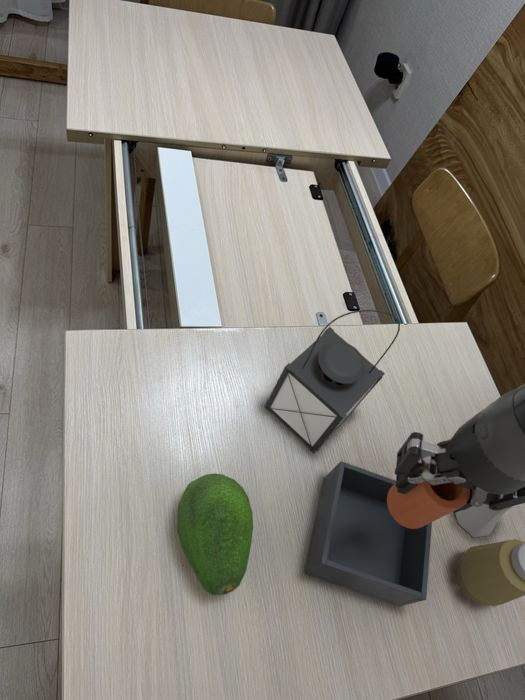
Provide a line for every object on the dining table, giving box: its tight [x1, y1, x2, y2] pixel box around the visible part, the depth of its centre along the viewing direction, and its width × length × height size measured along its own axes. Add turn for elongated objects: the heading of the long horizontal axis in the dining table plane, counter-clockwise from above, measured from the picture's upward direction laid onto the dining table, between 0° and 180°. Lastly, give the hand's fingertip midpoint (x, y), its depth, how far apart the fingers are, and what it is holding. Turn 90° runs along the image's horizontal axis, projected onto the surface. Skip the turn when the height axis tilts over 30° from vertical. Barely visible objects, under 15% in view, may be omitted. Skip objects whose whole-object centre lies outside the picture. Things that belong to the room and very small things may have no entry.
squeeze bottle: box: [454, 538, 525, 607], centre depth 68 cm, size 8×8×18 cm
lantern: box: [264, 309, 401, 454], centre depth 74 cm, size 11×11×28 cm
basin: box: [303, 460, 433, 607], centre depth 72 cm, size 14×14×8 cm
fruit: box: [176, 473, 254, 596], centre depth 66 cm, size 15×10×10 cm, turn 6°
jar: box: [387, 467, 470, 529], centre depth 59 cm, size 6×6×9 cm
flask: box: [454, 495, 522, 538], centre depth 77 cm, size 7×7×10 cm
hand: (426, 494), depth 59 cm, fingers closed on jar, 6 cm apart
